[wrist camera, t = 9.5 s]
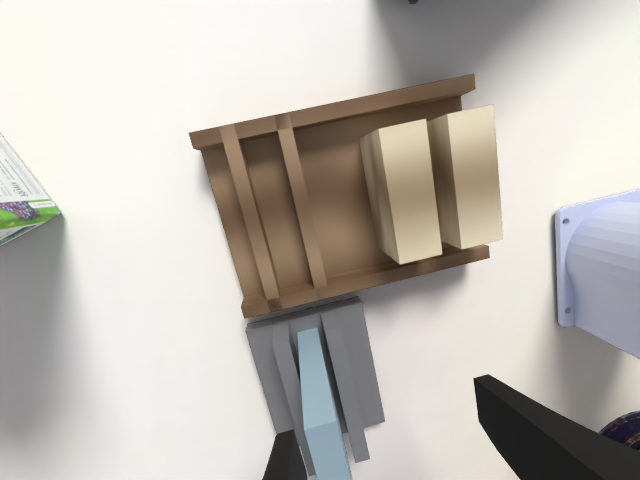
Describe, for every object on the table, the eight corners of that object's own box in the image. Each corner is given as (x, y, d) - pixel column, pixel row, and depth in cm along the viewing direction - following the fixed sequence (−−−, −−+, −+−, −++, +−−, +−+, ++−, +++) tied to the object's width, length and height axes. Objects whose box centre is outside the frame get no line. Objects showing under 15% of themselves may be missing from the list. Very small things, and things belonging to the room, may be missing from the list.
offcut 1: (412, 238, 20) (442, 254, 16) (377, 246, 20) (399, 264, 16) (396, 130, 18) (425, 118, 15) (358, 138, 18) (378, 128, 14)
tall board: (339, 422, 22) (368, 555, 15) (321, 427, 22) (340, 563, 14) (317, 327, 20) (336, 420, 13) (297, 332, 20) (304, 429, 13)
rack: (468, 249, 22) (489, 257, 19) (248, 303, 21) (244, 318, 18) (452, 85, 19) (474, 73, 17) (200, 138, 18) (188, 133, 16)
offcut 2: (461, 226, 20) (503, 239, 16) (427, 235, 20) (461, 249, 16) (450, 118, 19) (493, 104, 15) (413, 126, 19) (447, 114, 15)
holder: (381, 411, 24) (397, 451, 20) (281, 438, 23) (281, 484, 20) (358, 296, 21) (371, 319, 18) (247, 324, 21) (240, 353, 18)
